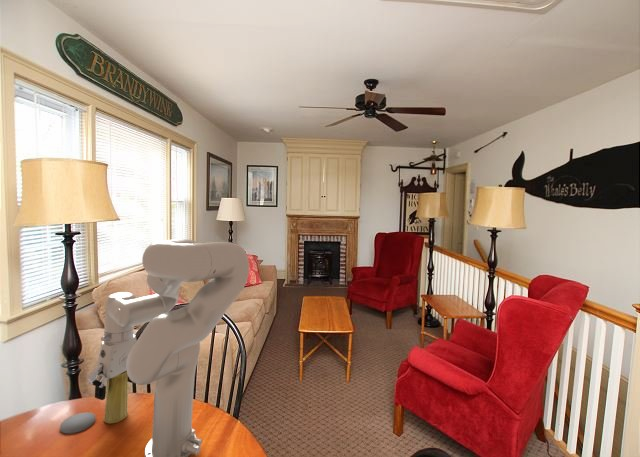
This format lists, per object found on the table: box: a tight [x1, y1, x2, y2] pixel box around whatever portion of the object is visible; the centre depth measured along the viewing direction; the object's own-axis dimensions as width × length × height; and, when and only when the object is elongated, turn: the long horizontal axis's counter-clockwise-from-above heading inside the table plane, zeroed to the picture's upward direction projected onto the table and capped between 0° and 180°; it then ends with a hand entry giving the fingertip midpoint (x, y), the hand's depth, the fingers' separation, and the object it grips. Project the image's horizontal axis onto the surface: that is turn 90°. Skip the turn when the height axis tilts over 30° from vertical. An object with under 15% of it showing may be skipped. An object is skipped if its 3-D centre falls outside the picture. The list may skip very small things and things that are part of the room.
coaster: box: [59, 411, 96, 435], centre depth 89 cm, size 8×8×1 cm
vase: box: [103, 371, 129, 424], centre depth 92 cm, size 6×6×14 cm
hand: (115, 389), depth 93 cm, fingers open, 9 cm apart
